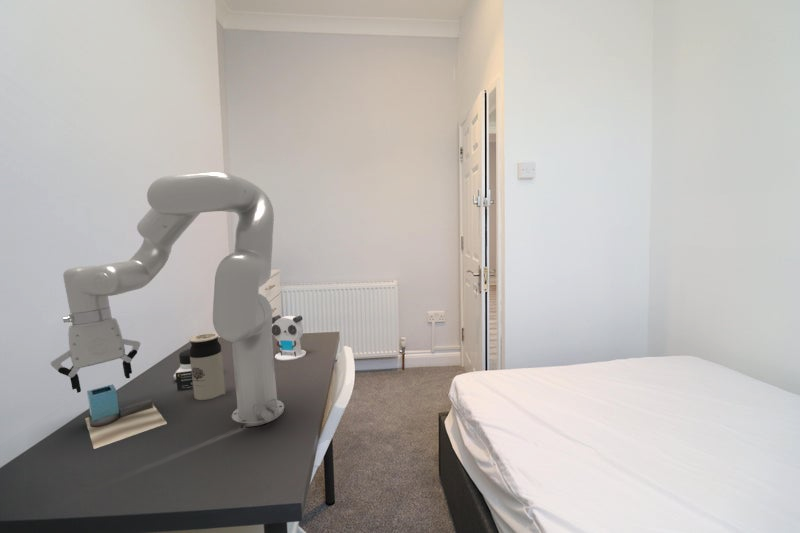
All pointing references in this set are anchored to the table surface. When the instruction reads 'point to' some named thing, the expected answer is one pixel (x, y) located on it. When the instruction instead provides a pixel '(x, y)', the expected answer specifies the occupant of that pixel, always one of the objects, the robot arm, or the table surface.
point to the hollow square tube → (103, 402)
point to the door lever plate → (124, 423)
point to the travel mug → (207, 366)
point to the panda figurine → (288, 336)
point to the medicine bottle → (184, 372)
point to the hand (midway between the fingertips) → (103, 383)
